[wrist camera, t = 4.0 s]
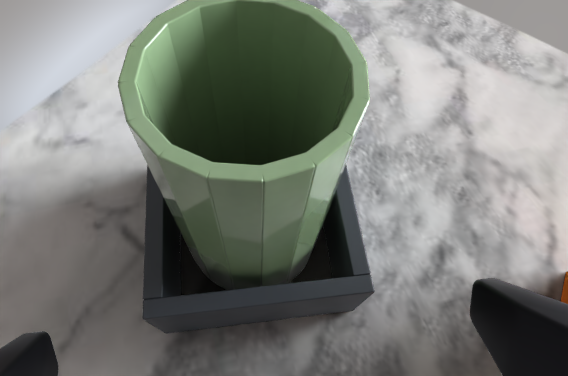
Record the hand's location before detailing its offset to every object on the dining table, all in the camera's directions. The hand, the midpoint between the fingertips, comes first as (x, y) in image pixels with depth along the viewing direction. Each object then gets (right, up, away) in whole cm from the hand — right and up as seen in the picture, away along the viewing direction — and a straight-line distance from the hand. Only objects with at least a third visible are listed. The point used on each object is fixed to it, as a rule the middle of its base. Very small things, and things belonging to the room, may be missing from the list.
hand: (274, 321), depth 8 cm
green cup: (-2, 0, +14) cm, 15 cm away
